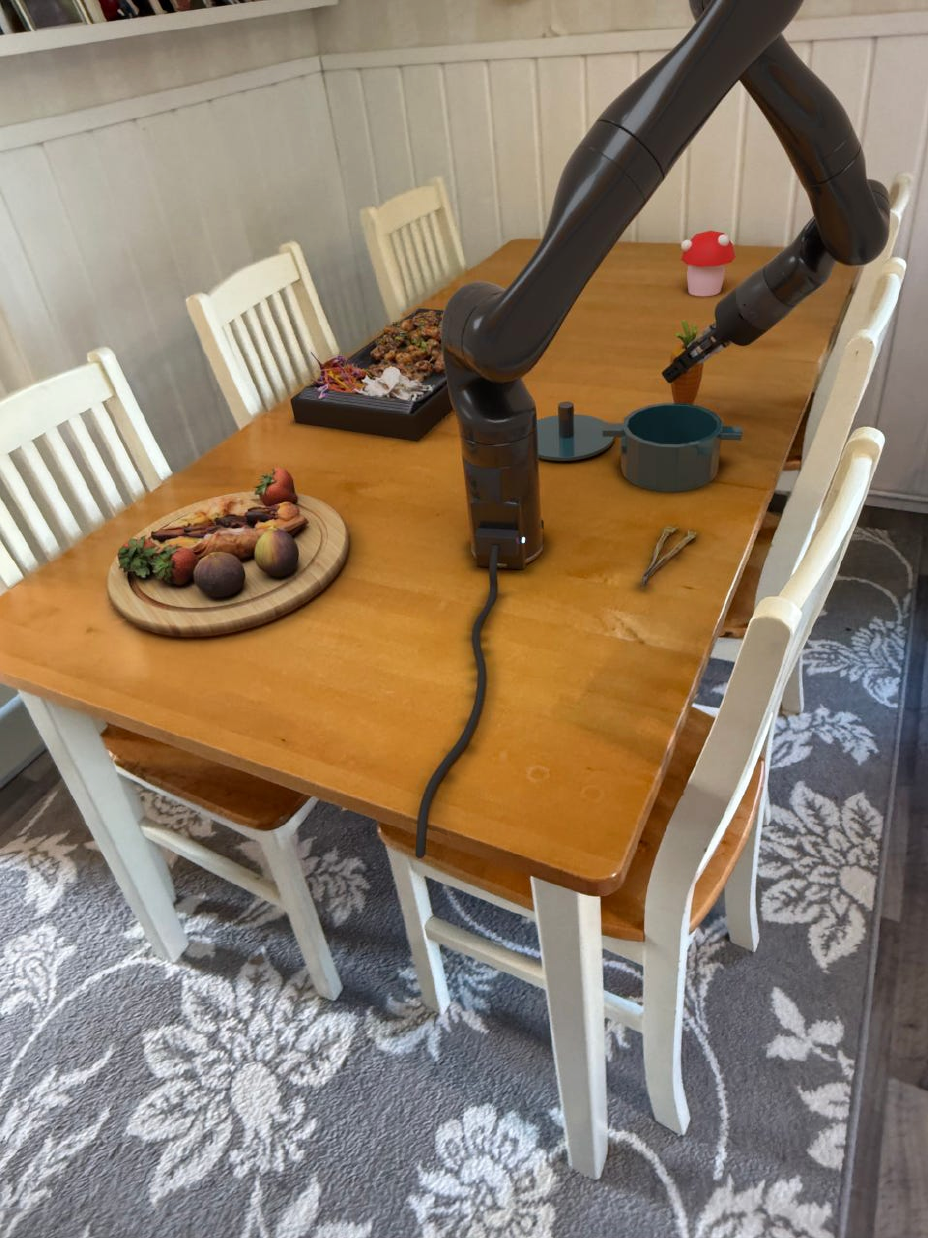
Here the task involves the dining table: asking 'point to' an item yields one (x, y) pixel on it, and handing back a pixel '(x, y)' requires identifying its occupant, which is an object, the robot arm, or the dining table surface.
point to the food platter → (383, 383)
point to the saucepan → (671, 446)
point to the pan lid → (570, 435)
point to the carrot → (689, 381)
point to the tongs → (679, 546)
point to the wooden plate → (229, 561)
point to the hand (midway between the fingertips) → (675, 371)
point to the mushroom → (707, 261)
